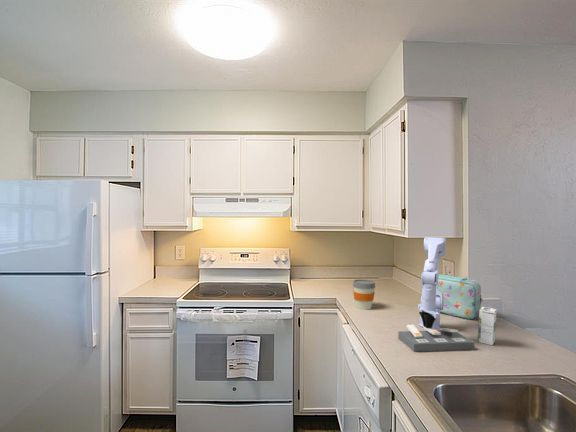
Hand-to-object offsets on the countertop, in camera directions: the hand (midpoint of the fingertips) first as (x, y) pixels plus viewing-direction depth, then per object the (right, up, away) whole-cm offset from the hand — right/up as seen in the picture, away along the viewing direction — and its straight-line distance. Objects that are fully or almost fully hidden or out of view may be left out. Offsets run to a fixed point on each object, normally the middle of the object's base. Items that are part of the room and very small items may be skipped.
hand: (427, 329), depth 148 cm
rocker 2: (+8, 0, -2) cm, 9 cm away
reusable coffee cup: (-18, -3, +46) cm, 49 cm away
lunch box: (+30, -4, +36) cm, 47 cm away
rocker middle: (0, 0, -3) cm, 3 cm away
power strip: (+1, -4, -6) cm, 7 cm away
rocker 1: (-8, +1, -4) cm, 9 cm away
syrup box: (+24, -5, -3) cm, 25 cm away
